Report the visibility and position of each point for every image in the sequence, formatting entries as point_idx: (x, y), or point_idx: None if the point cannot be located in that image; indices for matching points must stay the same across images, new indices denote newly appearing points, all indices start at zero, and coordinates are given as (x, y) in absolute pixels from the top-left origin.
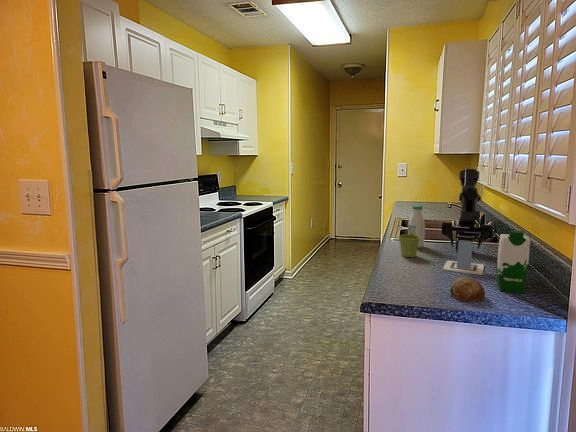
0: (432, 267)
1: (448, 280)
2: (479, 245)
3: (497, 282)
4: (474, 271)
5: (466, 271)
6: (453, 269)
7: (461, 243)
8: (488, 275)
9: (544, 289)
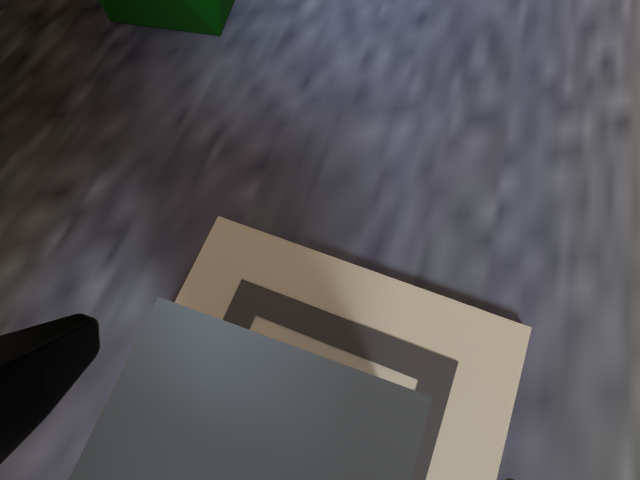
0: (624, 429)
1: (511, 72)
2: (29, 327)
3: (224, 2)
4: (260, 267)
5: (330, 259)
6: (432, 310)
7: (361, 371)
8: (178, 220)
9: (4, 5)
